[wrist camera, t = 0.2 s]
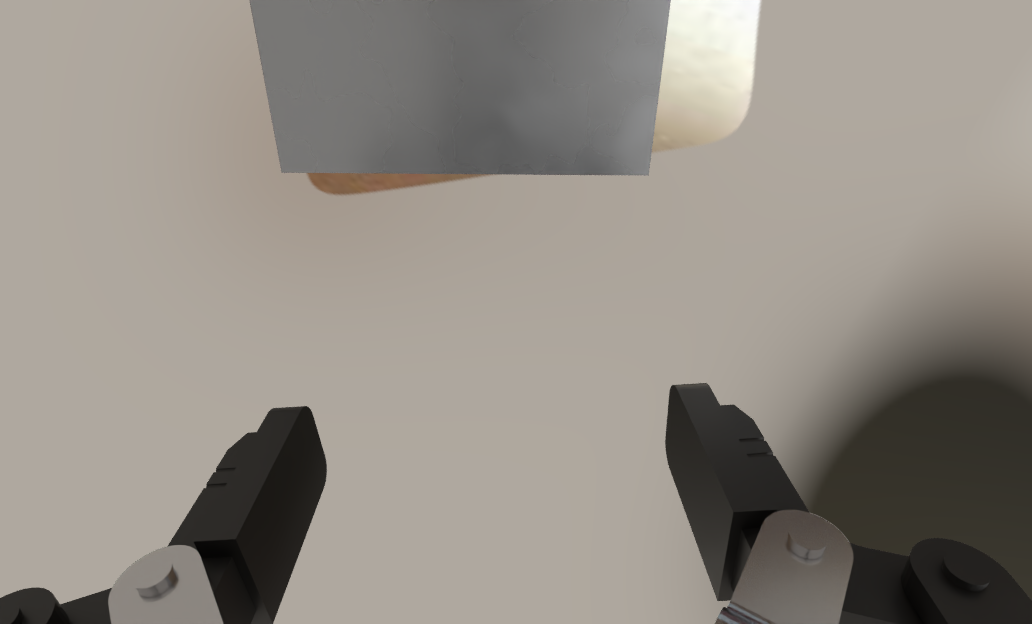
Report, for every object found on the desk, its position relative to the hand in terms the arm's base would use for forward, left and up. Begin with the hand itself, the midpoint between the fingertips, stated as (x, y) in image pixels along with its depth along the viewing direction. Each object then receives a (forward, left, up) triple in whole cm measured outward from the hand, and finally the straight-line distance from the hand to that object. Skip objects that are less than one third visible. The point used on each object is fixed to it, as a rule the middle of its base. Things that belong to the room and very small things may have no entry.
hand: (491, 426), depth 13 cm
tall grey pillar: (-6, -1, -30) cm, 31 cm away
